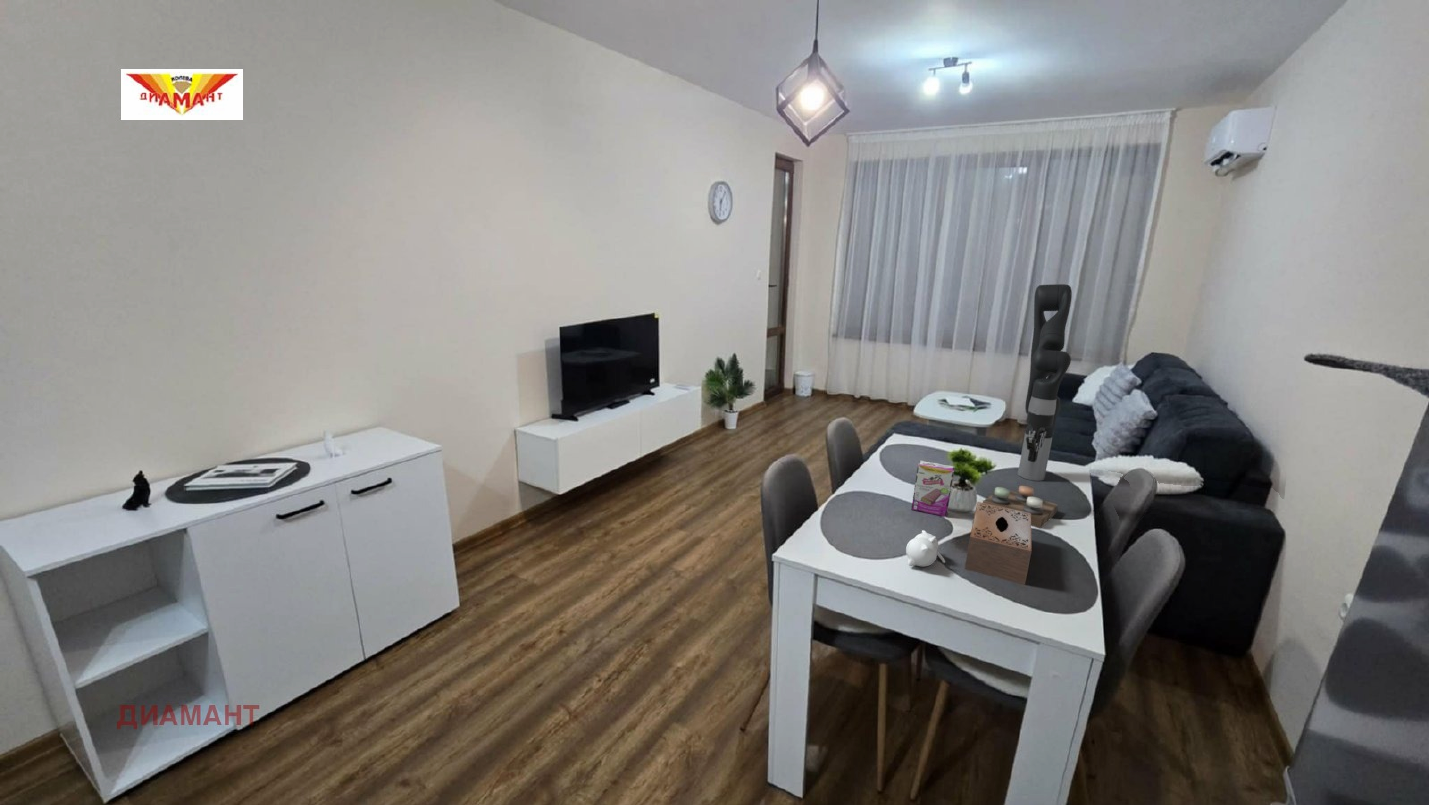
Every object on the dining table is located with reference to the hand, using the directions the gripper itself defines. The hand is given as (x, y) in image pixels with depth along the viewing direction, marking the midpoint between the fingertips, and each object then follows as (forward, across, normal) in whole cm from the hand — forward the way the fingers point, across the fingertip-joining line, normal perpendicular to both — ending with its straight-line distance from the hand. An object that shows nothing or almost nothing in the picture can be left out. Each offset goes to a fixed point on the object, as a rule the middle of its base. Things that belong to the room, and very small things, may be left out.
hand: (1031, 460), depth 187 cm
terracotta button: (+12, 0, 0) cm, 12 cm away
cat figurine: (+17, +60, -6) cm, 63 cm away
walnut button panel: (+17, +4, 0) cm, 17 cm away
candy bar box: (+17, +28, -20) cm, 38 cm away
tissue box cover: (+18, +41, +6) cm, 45 cm away
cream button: (+12, +8, +5) cm, 15 cm away
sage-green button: (+12, +8, -5) cm, 15 cm away
